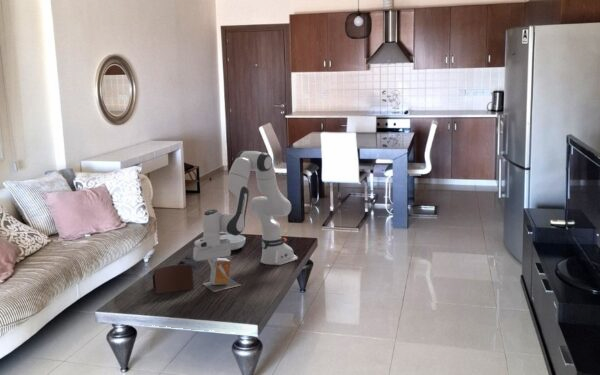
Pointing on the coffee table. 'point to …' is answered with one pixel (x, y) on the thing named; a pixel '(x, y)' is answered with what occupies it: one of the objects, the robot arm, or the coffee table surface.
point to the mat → (221, 287)
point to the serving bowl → (234, 241)
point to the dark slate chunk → (191, 263)
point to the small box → (220, 271)
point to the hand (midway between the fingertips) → (212, 266)
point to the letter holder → (173, 278)
